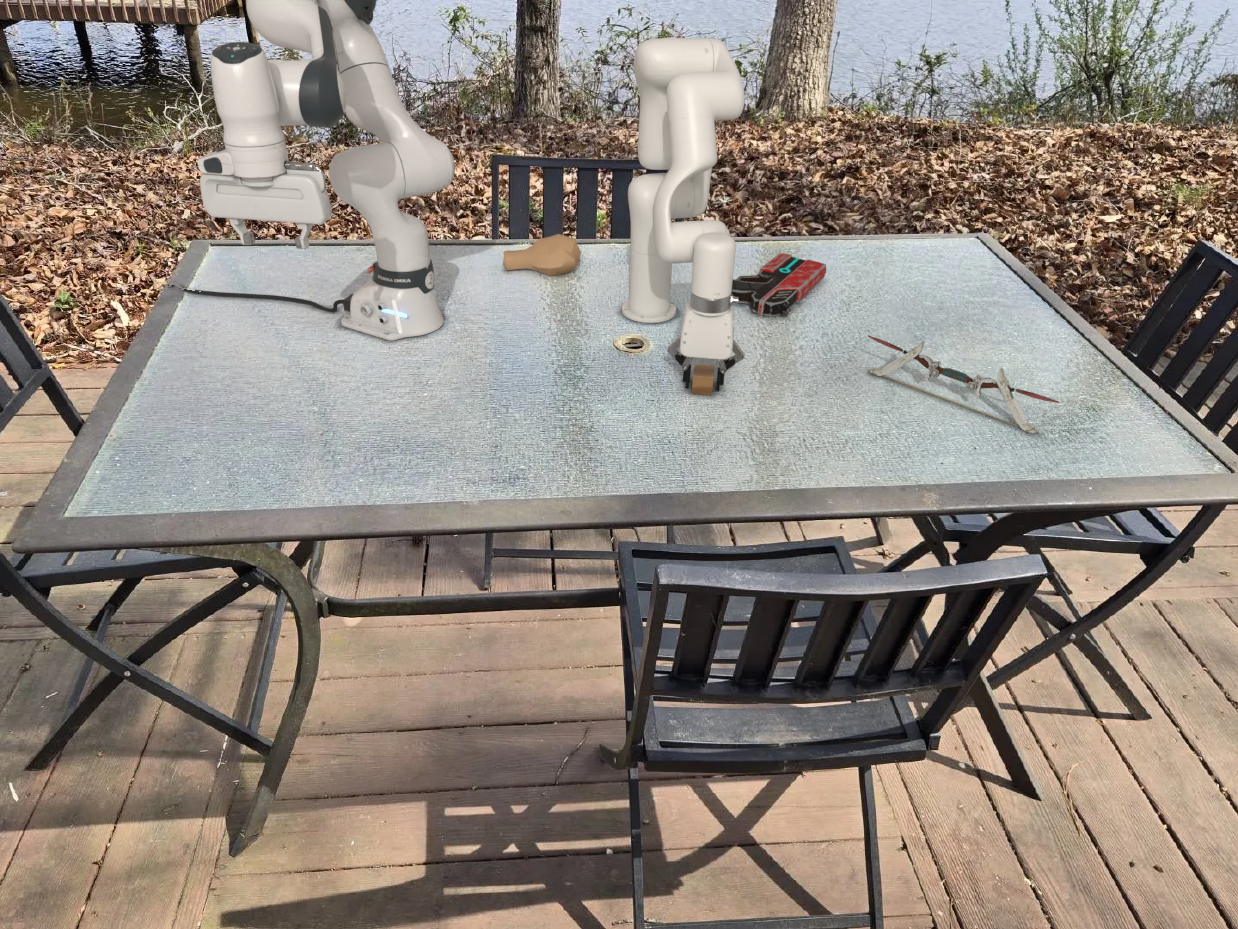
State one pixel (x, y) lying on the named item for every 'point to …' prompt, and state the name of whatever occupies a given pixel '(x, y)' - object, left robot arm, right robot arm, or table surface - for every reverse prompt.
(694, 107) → the right robot arm
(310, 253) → the table surface
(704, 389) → the block
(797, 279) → the gun
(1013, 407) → the bow
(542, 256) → the squash
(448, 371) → the table surface
